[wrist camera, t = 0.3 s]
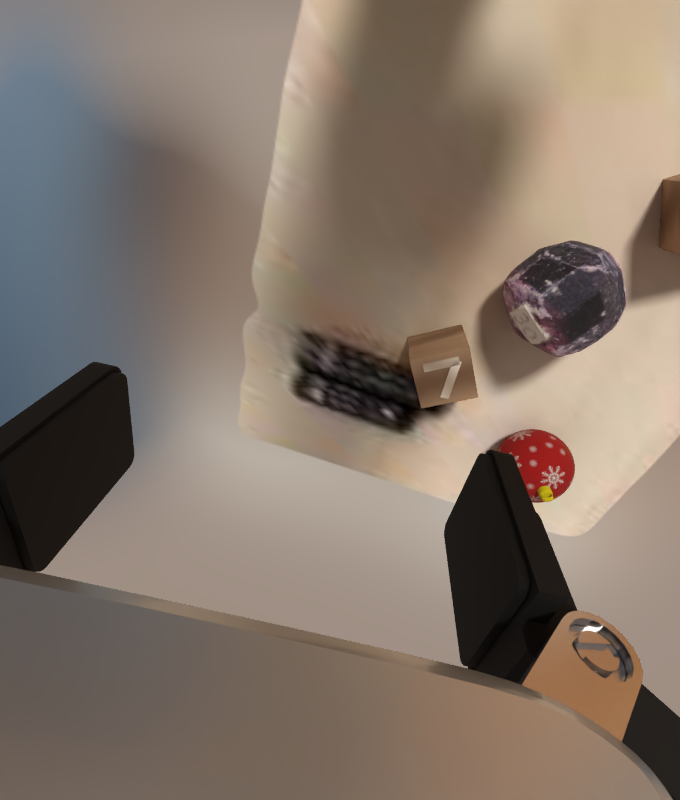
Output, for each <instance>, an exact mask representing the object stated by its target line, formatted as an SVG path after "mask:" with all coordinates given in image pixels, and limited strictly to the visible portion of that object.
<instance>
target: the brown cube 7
mask: <svg viewBox="0 0 680 800" xmlns="http://www.w3.org/2000/svg"><path fill="white" fill-rule="evenodd" d="M408 349H409V362H410V365H411V369H412V373H413V377H414V381H415V385H416V389H417V393H418V397H419V401H420V405H421V408H426V407H431V406H436V405H441V404H446V403H451V402H456V401H462V400H467V399H472V398H477V397H478V394H477V388H476V382H475V376H474V371H473V365H472V359H471V353H470V347H469V344H468V341H467V339H466V336H465V333H464V330H463V328H462V325H457V326H453V327H449V328H445V329H441V330H436V331H432V332H428V333H424V334H420V335H416V336H411V337H408Z"/></svg>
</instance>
